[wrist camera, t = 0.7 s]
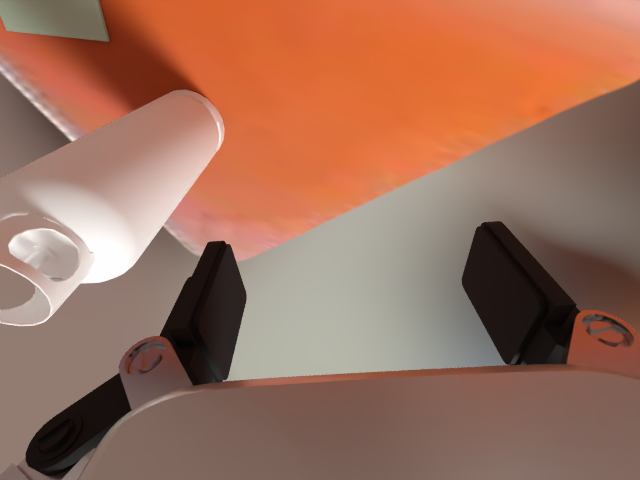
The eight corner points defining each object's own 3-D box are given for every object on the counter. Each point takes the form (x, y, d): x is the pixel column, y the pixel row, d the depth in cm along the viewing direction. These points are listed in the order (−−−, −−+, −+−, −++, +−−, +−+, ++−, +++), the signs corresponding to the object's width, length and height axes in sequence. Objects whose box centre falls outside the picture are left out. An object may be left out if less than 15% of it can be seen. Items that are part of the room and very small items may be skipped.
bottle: (141, 112, 36) (-153, 272, 13) (191, 74, 34) (-60, 188, 11) (190, 168, 40) (30, 360, 17) (238, 137, 38) (125, 313, 15)
